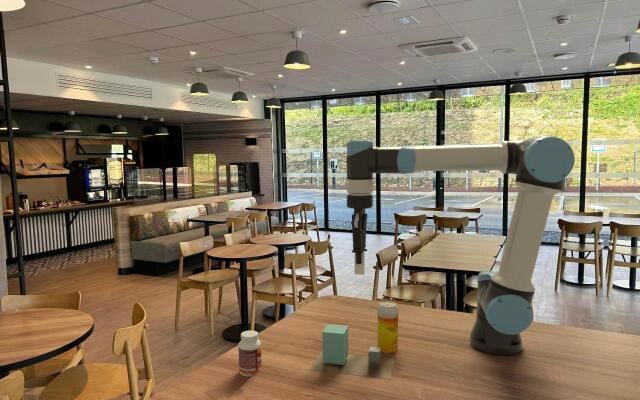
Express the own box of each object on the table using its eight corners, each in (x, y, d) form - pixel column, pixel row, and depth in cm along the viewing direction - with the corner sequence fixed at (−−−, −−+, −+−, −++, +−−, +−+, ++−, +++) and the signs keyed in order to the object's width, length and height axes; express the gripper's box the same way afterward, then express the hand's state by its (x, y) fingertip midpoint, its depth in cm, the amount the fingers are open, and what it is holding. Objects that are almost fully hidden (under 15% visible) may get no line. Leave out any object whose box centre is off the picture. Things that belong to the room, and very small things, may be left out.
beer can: (397, 357, 138) (397, 308, 136) (376, 355, 139) (376, 306, 137) (398, 348, 144) (398, 301, 142) (378, 347, 145) (378, 300, 143)
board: (394, 363, 134) (395, 359, 134) (390, 383, 123) (390, 379, 122) (320, 355, 140) (320, 351, 140) (309, 373, 128) (309, 369, 128)
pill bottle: (262, 376, 127) (262, 337, 126) (239, 378, 126) (238, 339, 124) (260, 365, 133) (259, 328, 132) (238, 368, 132) (237, 330, 130)
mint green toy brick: (348, 355, 134) (348, 325, 133) (343, 364, 128) (343, 333, 127) (327, 353, 136) (327, 323, 135) (322, 362, 130) (322, 331, 129)
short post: (380, 364, 130) (380, 347, 130) (379, 369, 128) (379, 352, 127) (369, 363, 131) (370, 346, 131) (368, 368, 128) (368, 351, 128)
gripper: (351, 191, 143) (351, 267, 145) (342, 196, 130) (342, 279, 133) (375, 192, 141) (375, 269, 143) (369, 196, 128) (368, 280, 131)
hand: (359, 273), depth 138 cm, fingers closed
